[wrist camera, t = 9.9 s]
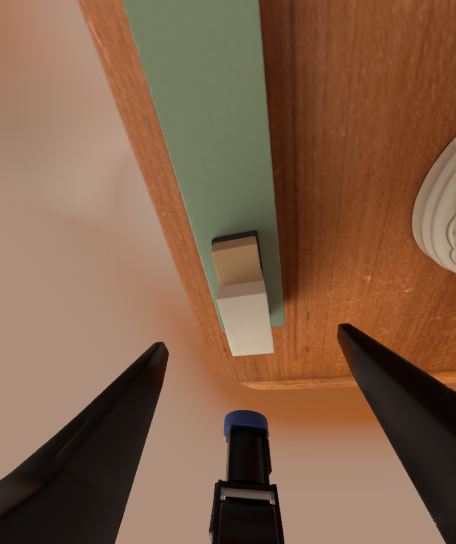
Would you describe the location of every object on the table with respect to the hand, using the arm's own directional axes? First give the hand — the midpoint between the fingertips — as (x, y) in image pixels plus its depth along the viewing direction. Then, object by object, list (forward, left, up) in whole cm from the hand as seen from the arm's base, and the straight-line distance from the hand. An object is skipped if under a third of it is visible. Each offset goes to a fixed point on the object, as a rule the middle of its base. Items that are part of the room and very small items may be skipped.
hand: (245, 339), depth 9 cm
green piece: (-2, +5, -9) cm, 10 cm away
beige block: (0, 0, -6) cm, 6 cm away
